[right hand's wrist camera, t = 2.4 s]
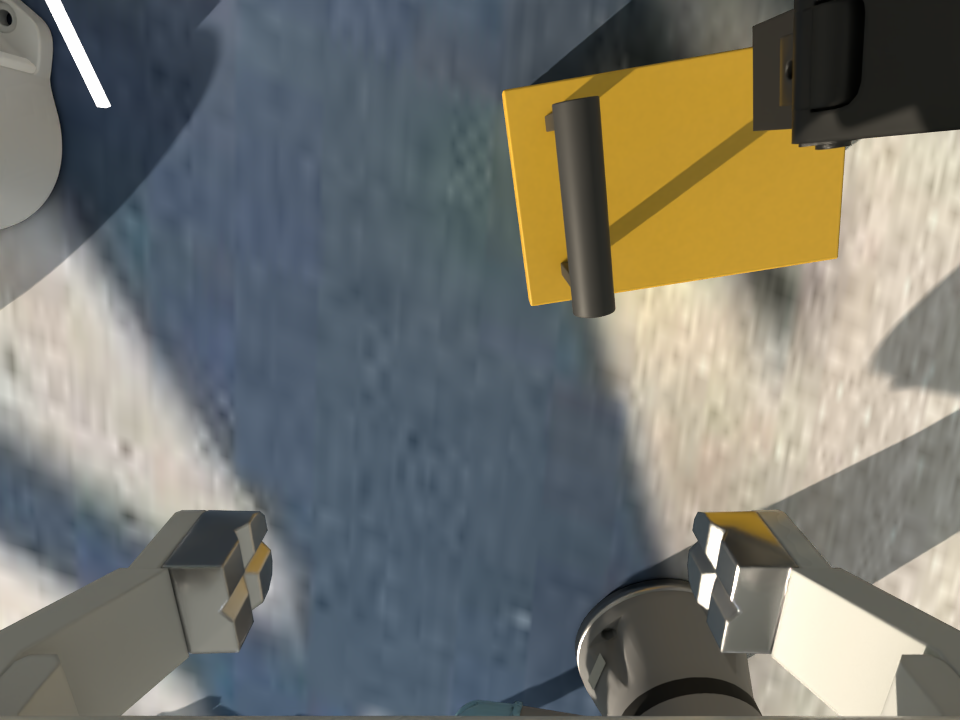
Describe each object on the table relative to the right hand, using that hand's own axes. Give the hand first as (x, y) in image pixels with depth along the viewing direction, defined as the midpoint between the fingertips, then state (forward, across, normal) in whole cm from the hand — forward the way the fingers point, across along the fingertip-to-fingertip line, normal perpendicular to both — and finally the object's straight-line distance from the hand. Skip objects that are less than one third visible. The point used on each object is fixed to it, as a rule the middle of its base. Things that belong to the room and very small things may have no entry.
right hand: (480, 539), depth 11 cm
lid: (+21, +10, +6) cm, 24 cm away
